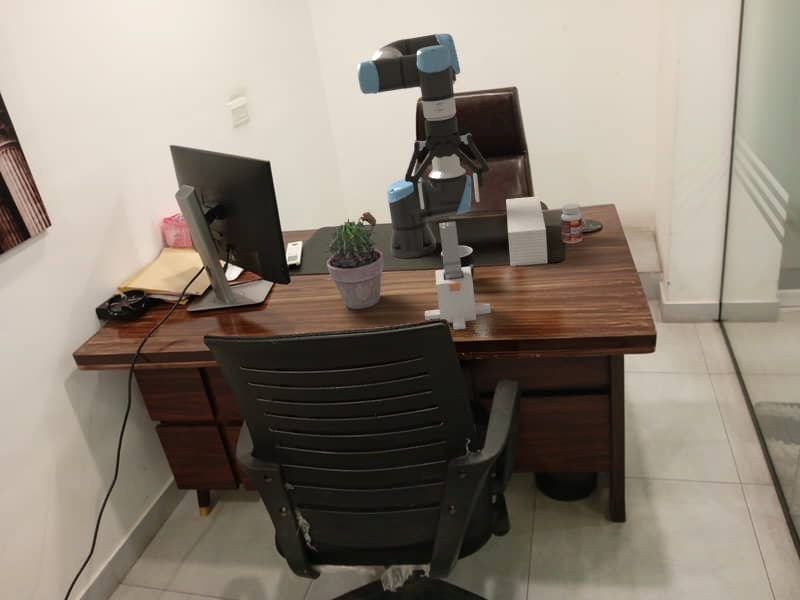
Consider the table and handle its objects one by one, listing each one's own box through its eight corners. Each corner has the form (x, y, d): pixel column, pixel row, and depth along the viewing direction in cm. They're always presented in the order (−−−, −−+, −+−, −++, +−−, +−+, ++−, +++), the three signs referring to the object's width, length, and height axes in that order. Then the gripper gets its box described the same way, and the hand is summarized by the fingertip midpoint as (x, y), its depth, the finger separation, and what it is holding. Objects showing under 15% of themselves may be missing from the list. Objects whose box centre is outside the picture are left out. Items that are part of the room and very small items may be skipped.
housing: (425, 303, 182) (420, 266, 178) (487, 296, 181) (484, 258, 176) (425, 332, 167) (420, 293, 162) (493, 325, 166) (490, 284, 161)
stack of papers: (508, 229, 226) (506, 199, 222) (540, 227, 224) (538, 196, 220) (510, 266, 198) (508, 232, 193) (547, 263, 196) (545, 229, 191)
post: (449, 309, 176) (438, 223, 166) (465, 307, 176) (455, 221, 166) (449, 316, 172) (439, 228, 162) (466, 314, 172) (456, 226, 162)
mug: (474, 290, 186) (470, 256, 181) (442, 291, 188) (438, 258, 184) (478, 273, 196) (475, 240, 192) (448, 274, 198) (445, 242, 194)
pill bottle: (572, 245, 205) (571, 210, 200) (557, 241, 210) (556, 207, 205) (586, 239, 208) (585, 204, 203) (571, 235, 213) (570, 201, 208)
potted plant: (313, 310, 188) (295, 227, 178) (361, 284, 201) (346, 204, 191) (358, 324, 177) (342, 235, 166) (406, 294, 189) (393, 210, 179)
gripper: (386, 127, 153) (399, 215, 162) (495, 112, 151) (502, 202, 160) (387, 121, 160) (400, 205, 169) (492, 106, 158) (499, 192, 167)
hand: (450, 204), depth 165 cm, fingers open, 13 cm apart
